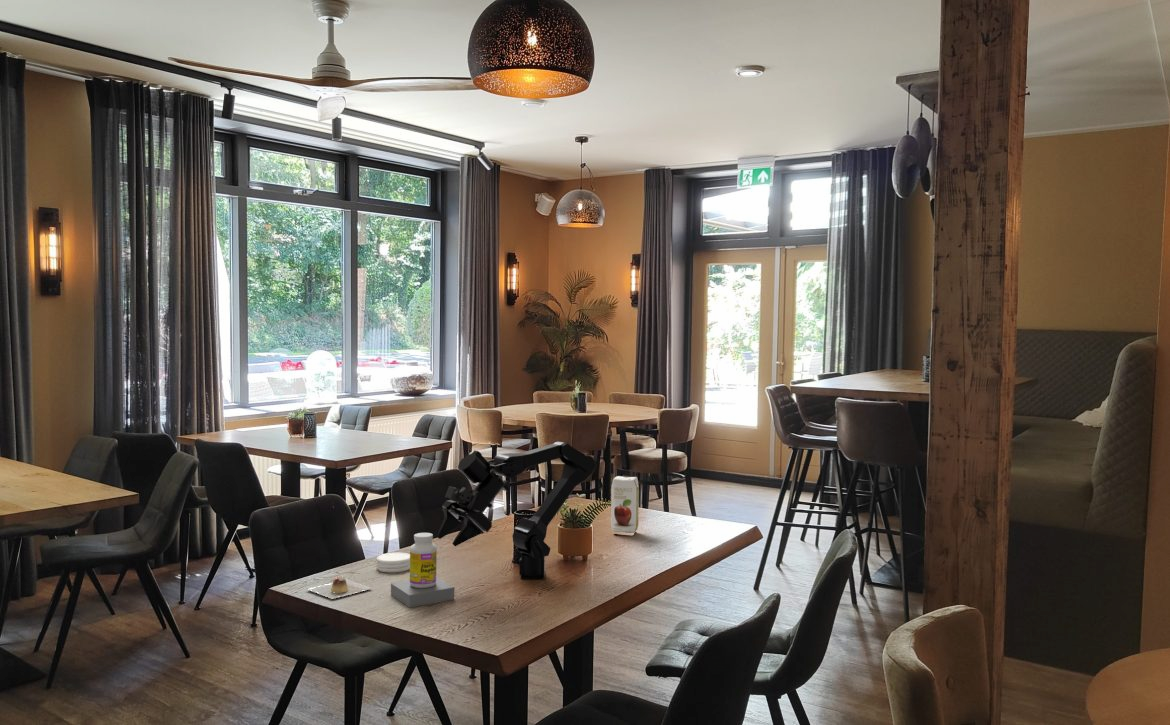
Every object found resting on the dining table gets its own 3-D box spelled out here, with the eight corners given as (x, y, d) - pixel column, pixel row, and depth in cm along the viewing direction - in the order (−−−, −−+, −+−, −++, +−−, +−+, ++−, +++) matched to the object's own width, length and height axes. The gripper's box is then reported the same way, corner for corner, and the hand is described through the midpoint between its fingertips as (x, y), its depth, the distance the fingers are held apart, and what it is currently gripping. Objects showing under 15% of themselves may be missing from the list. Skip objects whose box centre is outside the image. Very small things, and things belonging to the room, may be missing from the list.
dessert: (306, 593, 219) (306, 574, 219) (346, 583, 228) (346, 565, 228) (332, 603, 211) (332, 584, 211) (372, 592, 220) (372, 574, 220)
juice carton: (614, 530, 290) (615, 475, 289) (639, 532, 287) (640, 476, 287) (609, 535, 282) (610, 478, 282) (635, 537, 280) (635, 480, 280)
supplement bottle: (418, 590, 210) (419, 539, 210) (404, 584, 215) (404, 534, 214) (441, 585, 215) (441, 534, 214) (427, 579, 219) (427, 530, 219)
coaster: (373, 565, 244) (374, 553, 244) (408, 562, 248) (408, 550, 248) (379, 574, 235) (379, 562, 235) (415, 571, 239) (415, 559, 239)
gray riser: (434, 587, 223) (434, 576, 223) (454, 599, 213) (454, 587, 213) (390, 594, 216) (390, 583, 216) (409, 607, 206) (409, 595, 206)
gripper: (448, 469, 228) (410, 515, 222) (480, 479, 213) (440, 529, 207) (475, 495, 233) (438, 541, 227) (508, 507, 217) (469, 556, 211)
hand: (445, 541), depth 218 cm, fingers open, 9 cm apart
